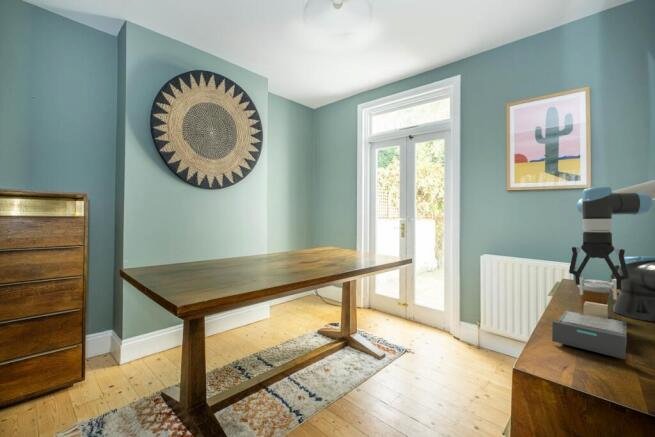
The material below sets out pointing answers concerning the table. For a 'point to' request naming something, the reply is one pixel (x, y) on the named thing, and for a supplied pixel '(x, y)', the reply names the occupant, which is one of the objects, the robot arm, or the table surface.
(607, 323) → the box
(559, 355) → the table surface
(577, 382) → the table surface
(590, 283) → the disc
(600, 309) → the oak block
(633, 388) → the table surface
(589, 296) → the disposable coffee cup
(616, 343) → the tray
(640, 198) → the robot arm
